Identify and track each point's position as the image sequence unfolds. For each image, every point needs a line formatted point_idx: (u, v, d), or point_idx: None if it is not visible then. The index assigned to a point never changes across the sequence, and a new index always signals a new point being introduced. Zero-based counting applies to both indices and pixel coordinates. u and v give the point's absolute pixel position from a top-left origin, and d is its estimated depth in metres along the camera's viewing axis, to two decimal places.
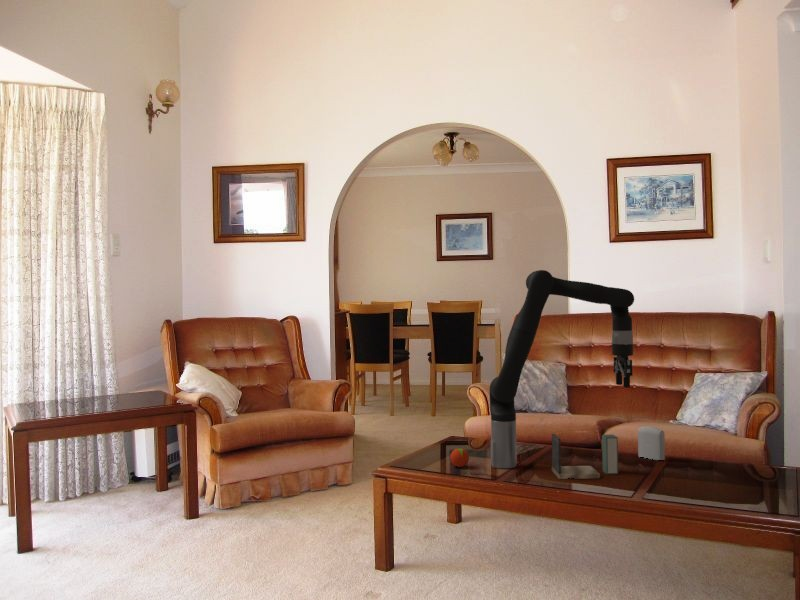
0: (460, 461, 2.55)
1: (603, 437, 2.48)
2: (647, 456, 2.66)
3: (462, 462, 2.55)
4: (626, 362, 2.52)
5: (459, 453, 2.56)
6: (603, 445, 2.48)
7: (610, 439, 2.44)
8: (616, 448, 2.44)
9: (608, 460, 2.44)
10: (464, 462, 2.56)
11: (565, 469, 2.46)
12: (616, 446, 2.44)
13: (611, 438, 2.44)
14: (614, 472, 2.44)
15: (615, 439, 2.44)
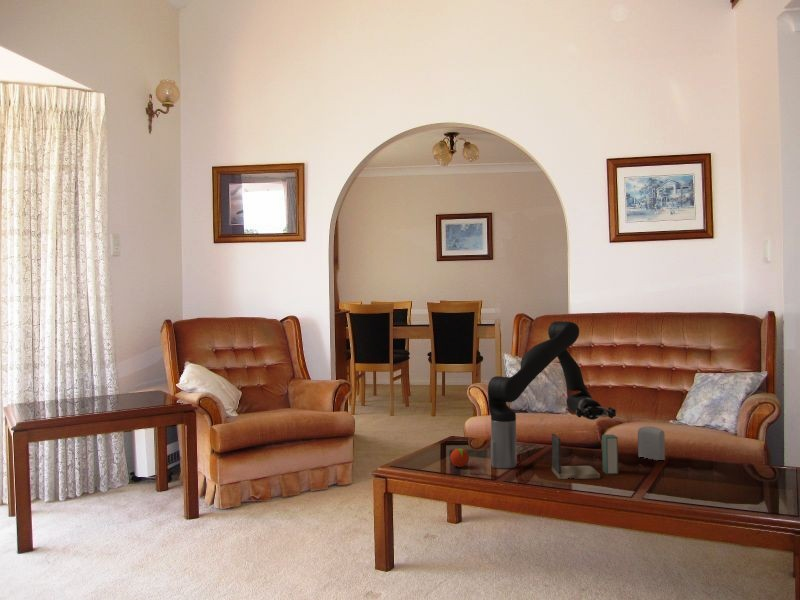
0: (460, 461, 2.55)
1: (603, 437, 2.48)
2: (647, 456, 2.66)
3: (462, 462, 2.55)
4: None
5: (459, 453, 2.56)
6: (603, 445, 2.48)
7: (610, 439, 2.44)
8: (616, 448, 2.44)
9: (608, 460, 2.44)
10: (464, 462, 2.56)
11: (565, 469, 2.46)
12: (616, 446, 2.44)
13: (611, 438, 2.44)
14: (614, 472, 2.44)
15: (615, 439, 2.44)
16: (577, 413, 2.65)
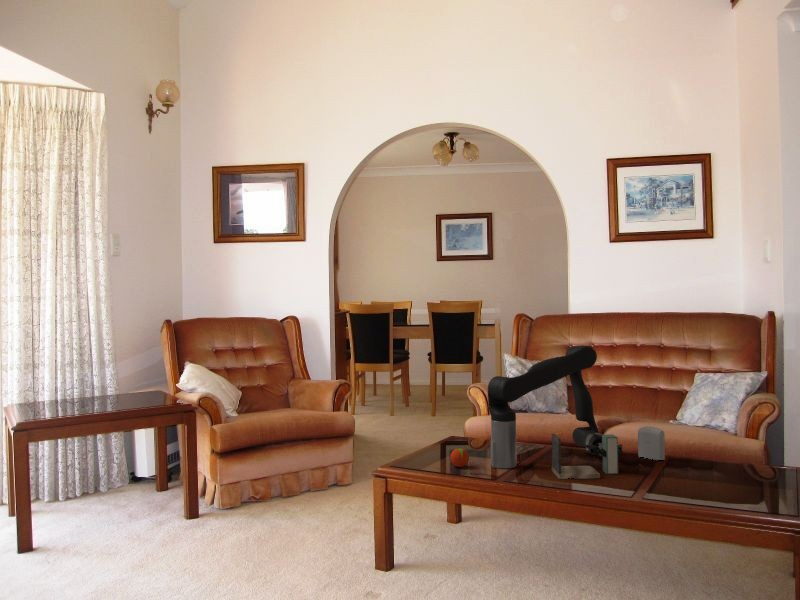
0: (460, 461, 2.55)
1: (603, 437, 2.48)
2: (647, 456, 2.66)
3: (462, 462, 2.55)
4: None
5: (459, 453, 2.56)
6: (603, 445, 2.48)
7: (610, 439, 2.44)
8: (616, 448, 2.44)
9: (608, 460, 2.44)
10: (464, 462, 2.56)
11: (565, 469, 2.46)
12: (616, 446, 2.44)
13: (611, 438, 2.44)
14: (614, 472, 2.44)
15: (615, 439, 2.44)
16: (591, 450, 2.51)
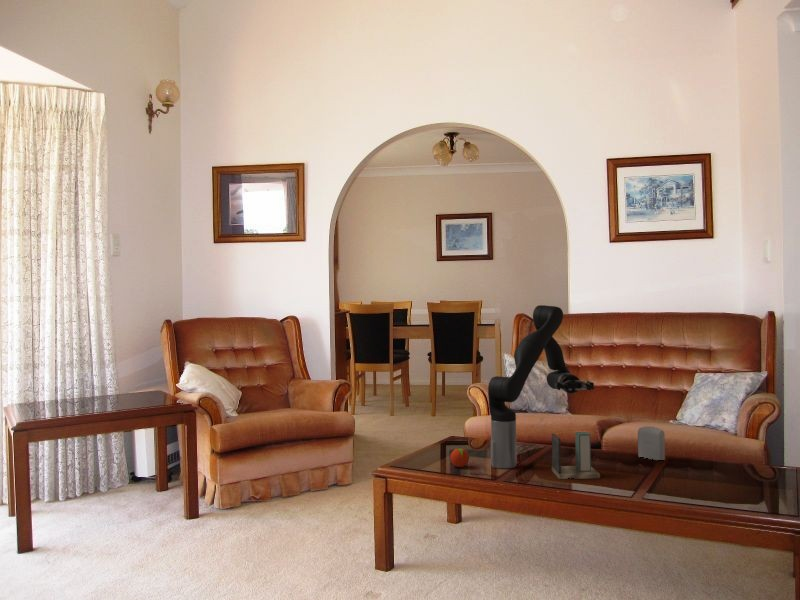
0: (460, 461, 2.55)
1: (576, 434, 2.46)
2: (647, 456, 2.66)
3: (462, 462, 2.55)
4: None
5: (459, 453, 2.56)
6: (576, 442, 2.46)
7: (583, 436, 2.42)
8: (589, 445, 2.42)
9: (581, 457, 2.42)
10: (464, 462, 2.56)
11: (565, 469, 2.46)
12: (589, 443, 2.42)
13: (584, 435, 2.42)
14: (587, 469, 2.42)
15: (588, 436, 2.42)
16: (556, 386, 2.72)
